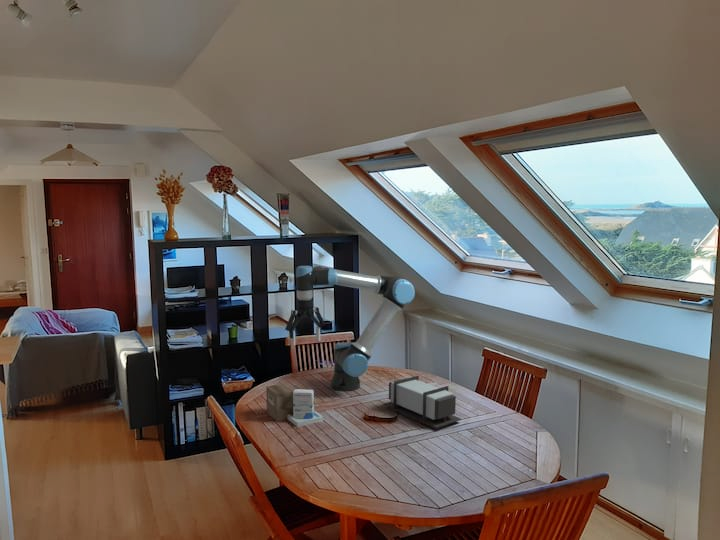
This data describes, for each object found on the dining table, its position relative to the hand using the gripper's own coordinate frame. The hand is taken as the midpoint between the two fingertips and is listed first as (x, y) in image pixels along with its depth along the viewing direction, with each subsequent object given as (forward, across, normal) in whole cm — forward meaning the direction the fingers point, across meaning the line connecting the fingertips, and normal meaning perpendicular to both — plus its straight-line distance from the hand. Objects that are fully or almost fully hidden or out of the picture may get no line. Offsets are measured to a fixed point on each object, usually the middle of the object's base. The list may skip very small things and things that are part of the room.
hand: (306, 342), depth 268 cm
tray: (+28, +14, +22) cm, 38 cm away
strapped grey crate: (+29, -32, +46) cm, 63 cm away
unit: (+28, +20, +12) cm, 36 cm away
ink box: (+27, +14, +22) cm, 37 cm away
